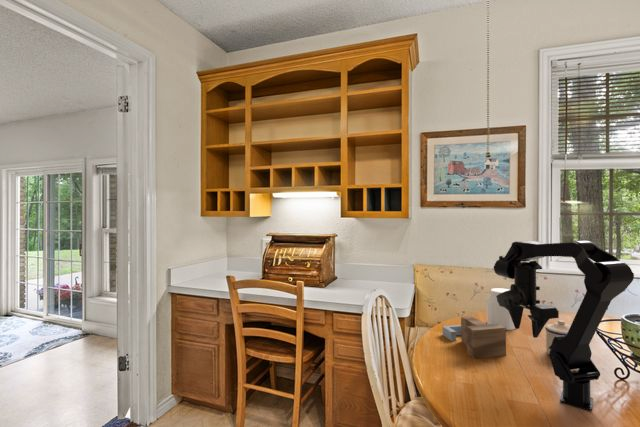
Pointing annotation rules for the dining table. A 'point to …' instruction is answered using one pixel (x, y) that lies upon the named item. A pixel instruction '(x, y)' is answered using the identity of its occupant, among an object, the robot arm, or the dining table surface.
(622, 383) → the dining table surface
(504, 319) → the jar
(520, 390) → the dining table surface
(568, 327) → the teacup with lid
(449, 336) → the stop bracket
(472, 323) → the tee block
